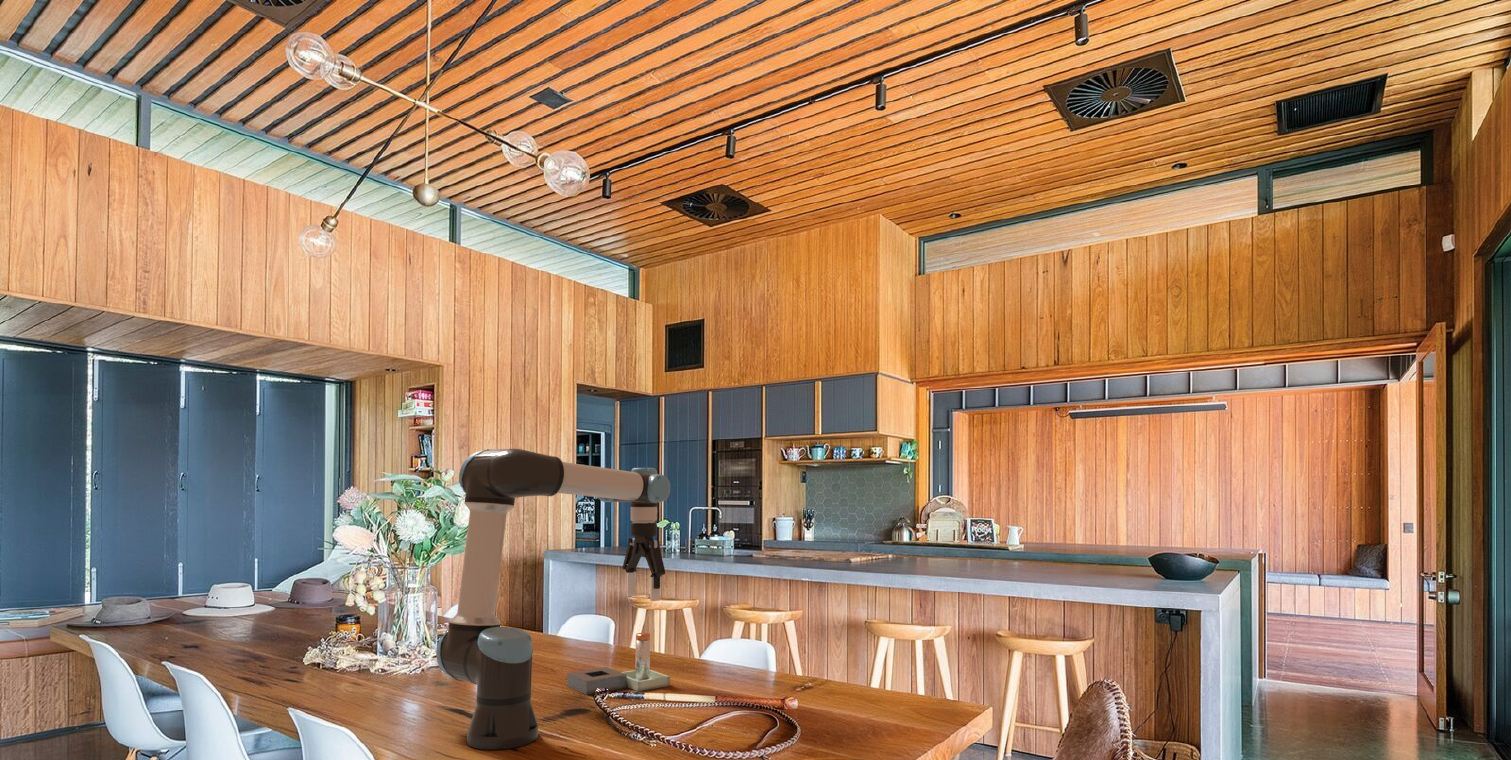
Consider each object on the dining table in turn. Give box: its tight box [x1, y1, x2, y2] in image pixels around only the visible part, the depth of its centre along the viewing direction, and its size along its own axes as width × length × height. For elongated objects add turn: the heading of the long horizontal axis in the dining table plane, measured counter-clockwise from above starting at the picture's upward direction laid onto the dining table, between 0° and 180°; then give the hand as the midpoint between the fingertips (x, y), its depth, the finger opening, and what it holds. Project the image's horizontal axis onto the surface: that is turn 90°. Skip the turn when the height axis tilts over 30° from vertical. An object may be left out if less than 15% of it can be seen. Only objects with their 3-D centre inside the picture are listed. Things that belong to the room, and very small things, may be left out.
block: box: [566, 666, 628, 695], centre depth 234 cm, size 12×12×4 cm
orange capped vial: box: [634, 632, 651, 681], centre depth 237 cm, size 4×4×13 cm
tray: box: [621, 669, 671, 692], centre depth 236 cm, size 10×13×2 cm
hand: (643, 598), depth 239 cm, fingers open, 13 cm apart
